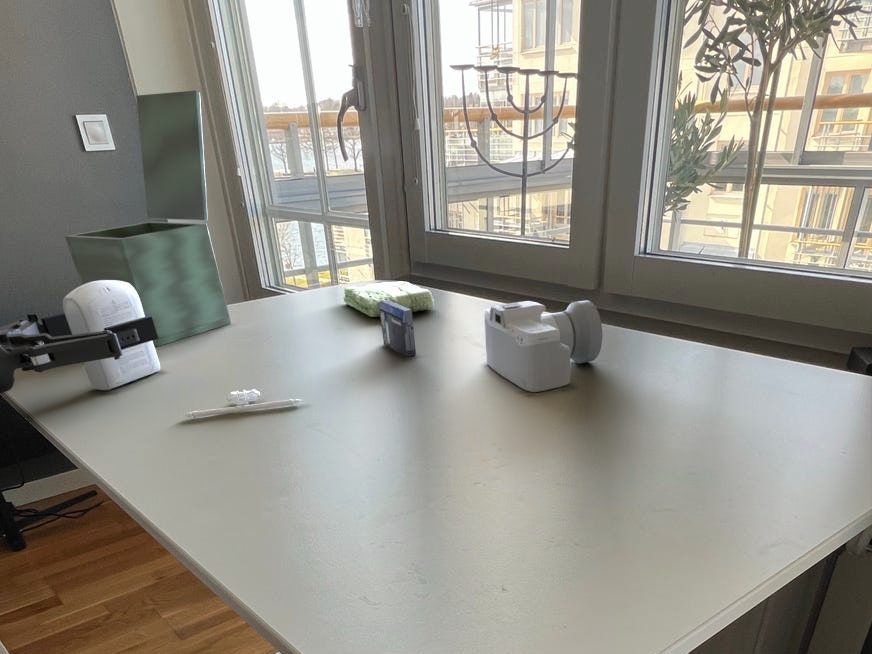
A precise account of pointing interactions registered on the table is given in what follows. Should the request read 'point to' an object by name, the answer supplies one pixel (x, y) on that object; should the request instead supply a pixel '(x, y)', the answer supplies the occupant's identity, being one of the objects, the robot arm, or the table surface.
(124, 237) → the green open box
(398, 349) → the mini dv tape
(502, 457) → the table surface
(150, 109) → the lid
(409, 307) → the washcloth
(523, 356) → the digital camera
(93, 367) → the white rounded flat block
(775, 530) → the table surface
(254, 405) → the picture light
